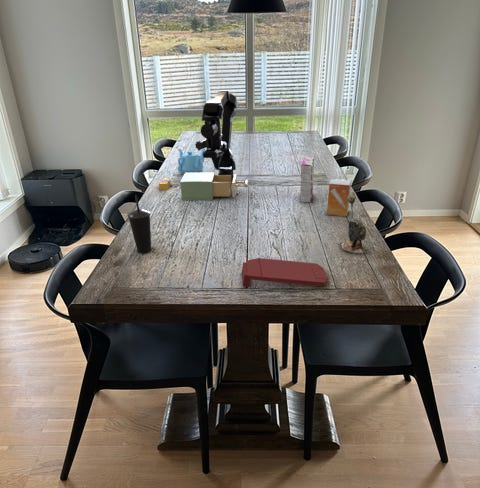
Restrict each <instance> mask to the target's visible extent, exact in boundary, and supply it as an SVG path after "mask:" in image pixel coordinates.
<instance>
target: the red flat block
mask: <svg viewBox="0 0 480 488" xmlns="http://www.w3.org/2000/svg"><path fill="white" fill-rule="evenodd" d="M241 267H242V268H241V274H240V275H241V283H242V287H245V288H250V287H251V281H259V282H260V281H261V282H270V283H281V284H293V285H302V286H315V287H325V286H326V284H327V283H328V276H327V274H326V271H325V270H324V267H323V266H321V265H320V264H319V263H316V262H305V261H294V260H283V259H275V258H263V257H262V258H261V257H255V258H251V259H247V260H246V261H245V262H244V261H243V262H242V266H241Z"/></svg>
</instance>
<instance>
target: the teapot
mask: <svg viewBox="0 0 480 488" xmlns="http://www.w3.org/2000/svg"><path fill="white" fill-rule="evenodd" d="M205 150H206V148H204V149H201V150H200V151H201V152H200V155H199V154H198V153H196V152H193V150H187V152H186V153H184V152H183V150H182V149H181V148H178V152H179V158H178V159H177V164H178V167H177V169H176V170H177V171H178V172H181V173H183V174H185V173H201V171H202V170H203V169H204V162H205V158H203V152H204V151H205Z"/></svg>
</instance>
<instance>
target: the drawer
mask: <svg viewBox="0 0 480 488" xmlns="http://www.w3.org/2000/svg"><path fill="white" fill-rule="evenodd" d="M248 186H249V180H248V179H246V180H237V173H236V174H234V173H233V180H232V183H231V175H218V174H215V175H214V178H213V181H212V190H213V196H214V197H231V196H232V198H236V195H237V190H238V187H244V188H248ZM231 194H232V195H231Z"/></svg>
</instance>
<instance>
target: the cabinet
mask: <svg viewBox="0 0 480 488" xmlns="http://www.w3.org/2000/svg"><path fill="white" fill-rule="evenodd" d="M214 175H216V172H213V171H211V172H209V171H208V172H207V171H206V172H203V171H202V172H197V173H183V175H182V177H181V180H180V182H179V183H180V194H181V200H182V201H211V200H212V201H213V200H214V198H215V196H213V190H212V181H213V178H214Z"/></svg>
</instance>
